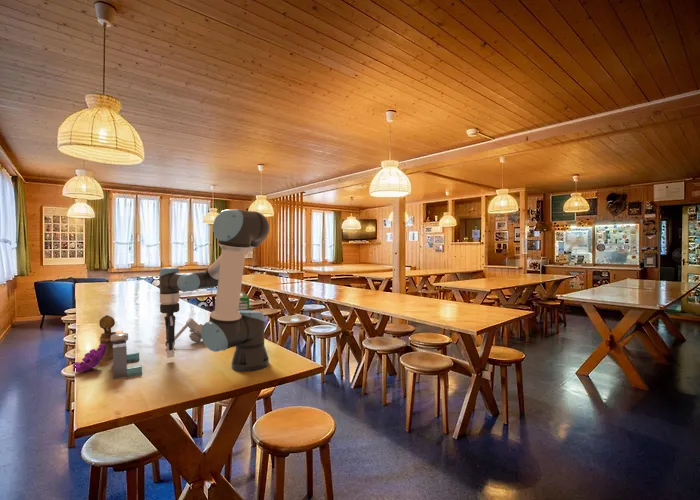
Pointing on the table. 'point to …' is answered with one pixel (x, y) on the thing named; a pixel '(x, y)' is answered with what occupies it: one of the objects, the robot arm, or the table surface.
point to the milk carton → (243, 302)
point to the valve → (193, 328)
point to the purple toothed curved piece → (90, 359)
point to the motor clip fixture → (123, 357)
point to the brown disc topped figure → (107, 336)
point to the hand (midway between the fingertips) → (170, 356)
